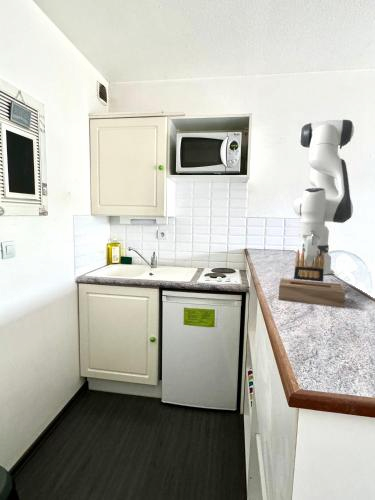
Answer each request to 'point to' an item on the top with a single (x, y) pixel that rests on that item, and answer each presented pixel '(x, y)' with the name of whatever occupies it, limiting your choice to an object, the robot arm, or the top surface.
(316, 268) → the ammunition clip
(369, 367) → the top surface
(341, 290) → the slotted wooden block
